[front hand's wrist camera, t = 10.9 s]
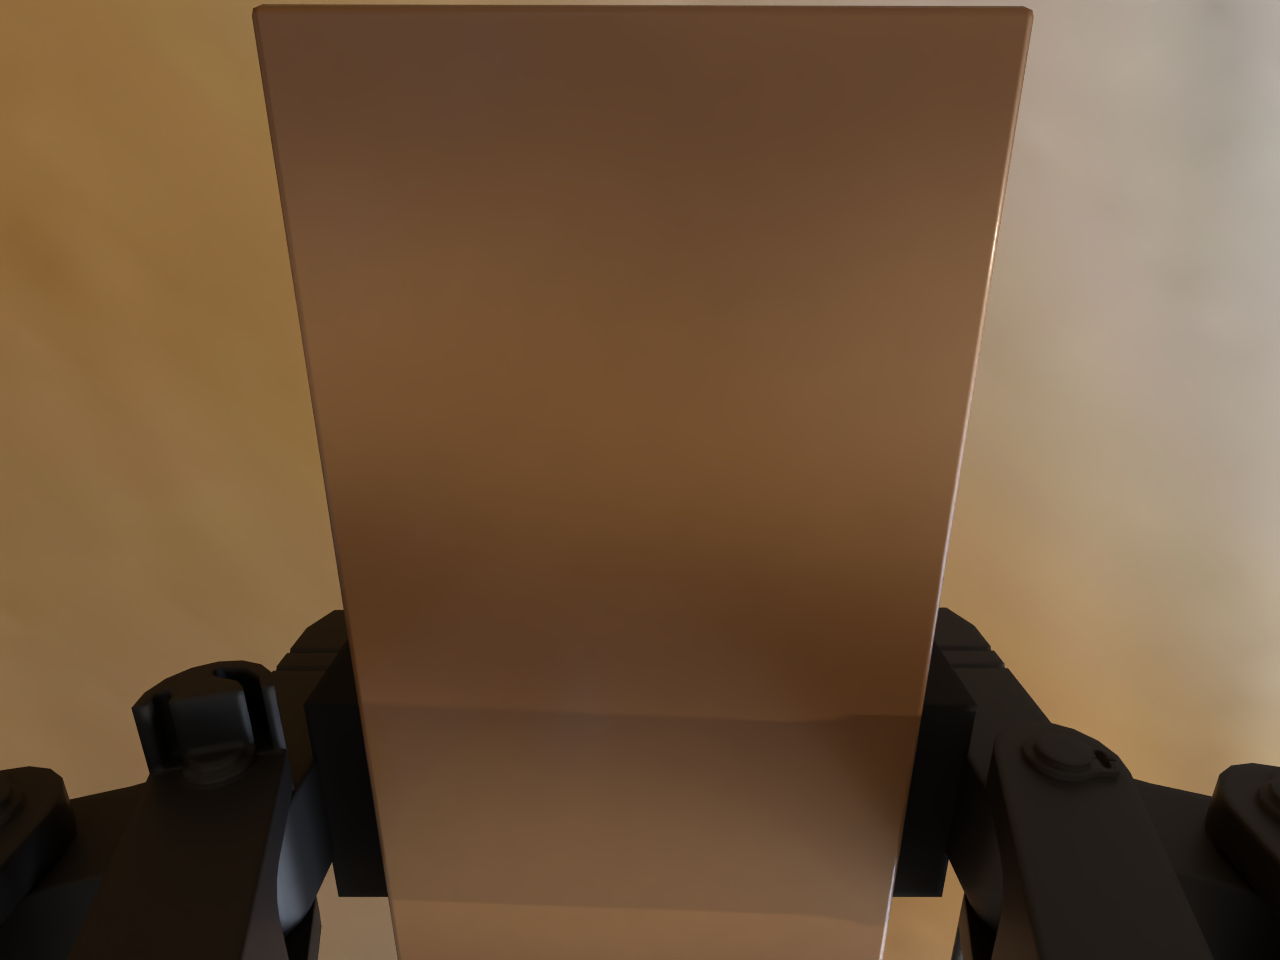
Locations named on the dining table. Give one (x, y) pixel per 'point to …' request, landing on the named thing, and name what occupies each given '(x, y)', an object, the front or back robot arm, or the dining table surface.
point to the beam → (641, 445)
